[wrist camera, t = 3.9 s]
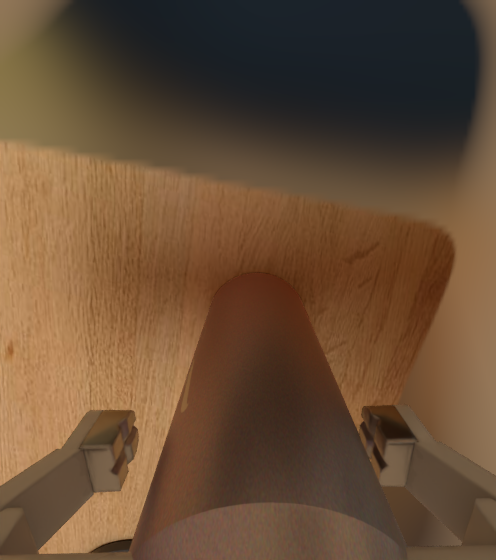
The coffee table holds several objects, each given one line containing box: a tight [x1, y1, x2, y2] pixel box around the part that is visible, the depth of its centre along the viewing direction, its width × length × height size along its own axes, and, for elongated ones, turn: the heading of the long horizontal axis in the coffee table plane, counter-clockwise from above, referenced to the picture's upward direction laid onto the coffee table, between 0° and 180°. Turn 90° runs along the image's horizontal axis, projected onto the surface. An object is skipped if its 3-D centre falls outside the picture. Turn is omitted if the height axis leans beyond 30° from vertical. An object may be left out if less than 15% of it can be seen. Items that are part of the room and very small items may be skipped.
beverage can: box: [129, 273, 407, 560], centre depth 12 cm, size 6×6×15 cm
